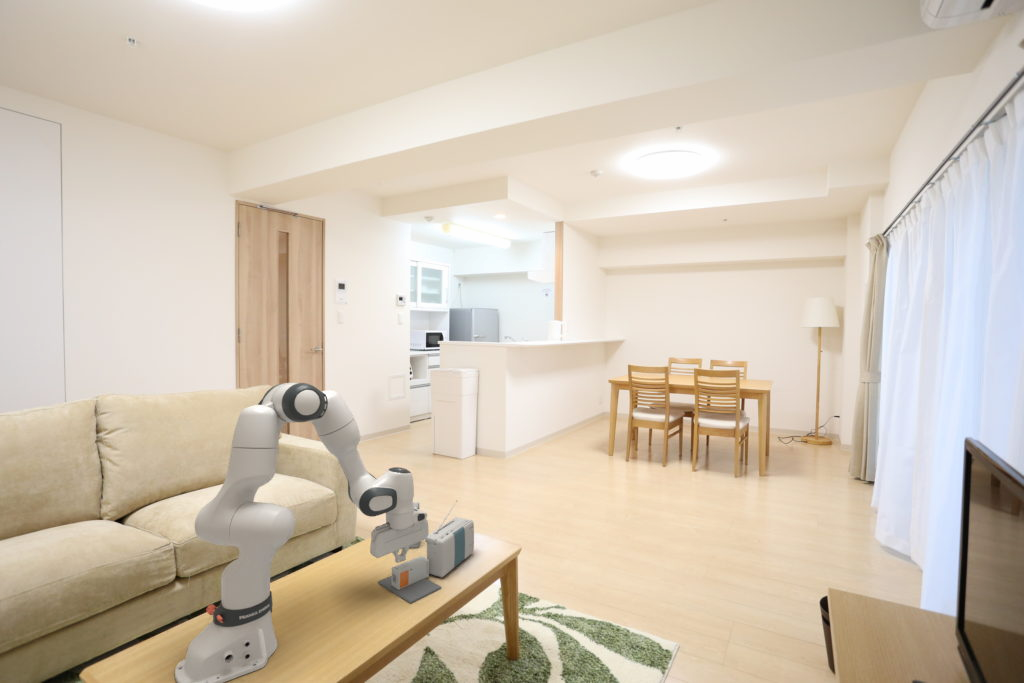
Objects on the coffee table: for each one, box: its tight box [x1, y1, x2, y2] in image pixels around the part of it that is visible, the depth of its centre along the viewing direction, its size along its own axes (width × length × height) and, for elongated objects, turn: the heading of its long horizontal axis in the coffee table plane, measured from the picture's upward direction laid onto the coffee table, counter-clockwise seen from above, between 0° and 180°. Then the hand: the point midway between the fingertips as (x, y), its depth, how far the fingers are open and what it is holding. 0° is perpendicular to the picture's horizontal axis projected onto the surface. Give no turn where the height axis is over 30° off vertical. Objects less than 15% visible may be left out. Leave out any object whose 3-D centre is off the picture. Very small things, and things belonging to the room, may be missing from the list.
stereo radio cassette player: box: [424, 500, 475, 579], centre depth 175 cm, size 21×8×20 cm, turn 154°
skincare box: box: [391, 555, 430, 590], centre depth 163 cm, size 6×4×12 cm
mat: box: [377, 575, 442, 605], centre depth 161 cm, size 12×18×1 cm, turn 48°
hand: (400, 561), depth 158 cm, fingers closed
